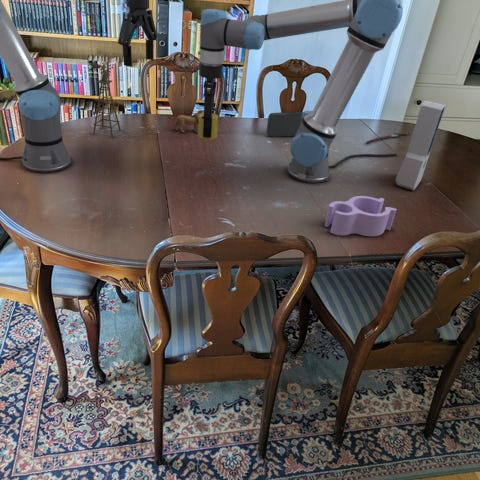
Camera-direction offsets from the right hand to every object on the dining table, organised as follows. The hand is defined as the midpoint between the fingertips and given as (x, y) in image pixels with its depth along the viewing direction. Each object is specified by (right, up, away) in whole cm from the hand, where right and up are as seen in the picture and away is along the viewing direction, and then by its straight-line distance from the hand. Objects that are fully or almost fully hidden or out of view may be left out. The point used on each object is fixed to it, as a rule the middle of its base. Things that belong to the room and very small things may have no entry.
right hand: (207, 133), depth 160 cm
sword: (+78, +9, +53) cm, 95 cm away
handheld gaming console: (+33, +9, +45) cm, 57 cm away
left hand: (-24, +26, +3) cm, 35 cm away
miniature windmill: (-43, +7, +28) cm, 52 cm away
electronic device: (+74, -16, +13) cm, 76 cm away
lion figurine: (-10, +10, +39) cm, 41 cm away
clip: (+47, -33, -17) cm, 60 cm away
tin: (0, -1, 0) cm, 1 cm away
